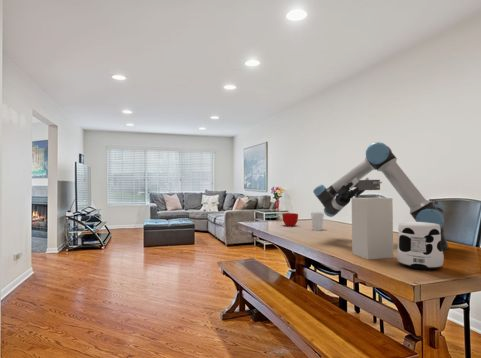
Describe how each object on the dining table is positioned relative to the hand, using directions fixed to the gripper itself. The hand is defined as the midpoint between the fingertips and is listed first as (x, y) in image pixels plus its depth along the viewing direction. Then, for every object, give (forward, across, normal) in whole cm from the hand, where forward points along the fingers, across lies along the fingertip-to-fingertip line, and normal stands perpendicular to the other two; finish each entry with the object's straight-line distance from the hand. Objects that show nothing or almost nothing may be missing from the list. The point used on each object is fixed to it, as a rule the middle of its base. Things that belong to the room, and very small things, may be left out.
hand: (362, 180), depth 158 cm
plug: (-2, 0, -4) cm, 5 cm away
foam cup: (-85, -15, +6) cm, 87 cm away
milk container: (+6, -6, -47) cm, 47 cm away
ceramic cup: (-109, -6, +20) cm, 111 cm away
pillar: (-13, 0, -35) cm, 38 cm away
